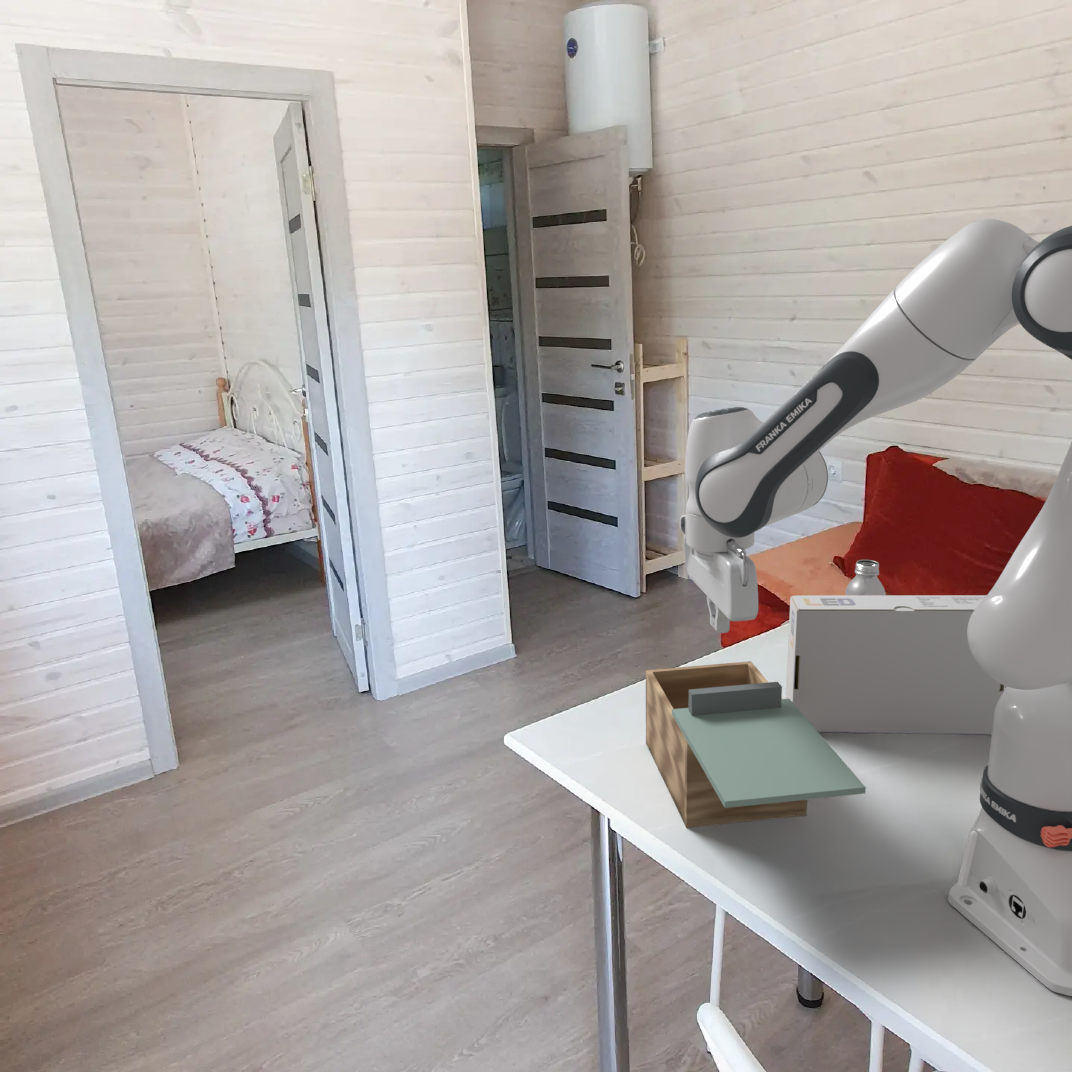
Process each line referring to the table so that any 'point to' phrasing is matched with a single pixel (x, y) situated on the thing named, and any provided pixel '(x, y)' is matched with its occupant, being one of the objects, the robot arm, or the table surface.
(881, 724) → the packaging
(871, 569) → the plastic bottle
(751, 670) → the wooden box
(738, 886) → the table surface
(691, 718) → the lid
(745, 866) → the table surface
